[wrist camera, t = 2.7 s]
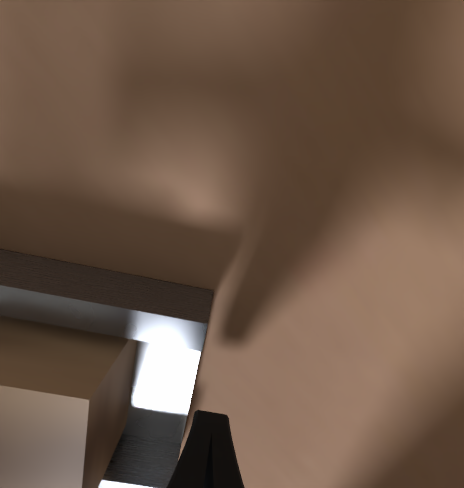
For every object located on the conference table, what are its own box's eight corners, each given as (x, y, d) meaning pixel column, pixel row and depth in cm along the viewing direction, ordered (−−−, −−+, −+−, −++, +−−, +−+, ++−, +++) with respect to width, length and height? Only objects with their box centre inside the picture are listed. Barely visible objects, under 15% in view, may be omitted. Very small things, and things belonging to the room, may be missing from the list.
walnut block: (126, 424, 12) (77, 534, 8) (7, 404, 12) (-101, 510, 8) (139, 323, 11) (89, 400, 7) (4, 298, 11) (-127, 364, 7)
